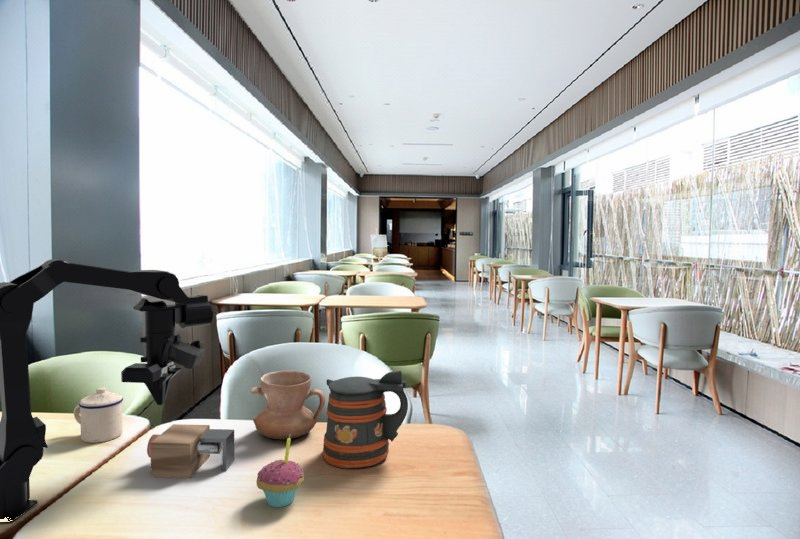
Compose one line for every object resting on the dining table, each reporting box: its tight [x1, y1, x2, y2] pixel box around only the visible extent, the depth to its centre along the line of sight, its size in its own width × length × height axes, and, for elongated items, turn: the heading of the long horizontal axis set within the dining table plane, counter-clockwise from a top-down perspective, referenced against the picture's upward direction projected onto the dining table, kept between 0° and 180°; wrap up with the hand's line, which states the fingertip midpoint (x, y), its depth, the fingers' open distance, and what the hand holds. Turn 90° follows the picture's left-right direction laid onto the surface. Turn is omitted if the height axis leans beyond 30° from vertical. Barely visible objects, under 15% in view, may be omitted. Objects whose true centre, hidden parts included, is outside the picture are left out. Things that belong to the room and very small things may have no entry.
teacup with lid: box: [73, 386, 124, 444], centre depth 122 cm, size 12×9×12 cm
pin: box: [146, 434, 222, 459], centre depth 107 cm, size 5×14×5 cm, turn 89°
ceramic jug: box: [250, 370, 326, 440], centre depth 125 cm, size 18×14×14 cm
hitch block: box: [150, 423, 211, 479], centre depth 107 cm, size 10×8×7 cm
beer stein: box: [322, 369, 409, 470], centre depth 113 cm, size 19×15×20 cm
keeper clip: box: [199, 428, 235, 472], centre depth 107 cm, size 5×6×7 cm
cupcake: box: [256, 434, 305, 508], centre depth 93 cm, size 9×8×12 cm
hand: (160, 404), depth 107 cm, fingers closed
